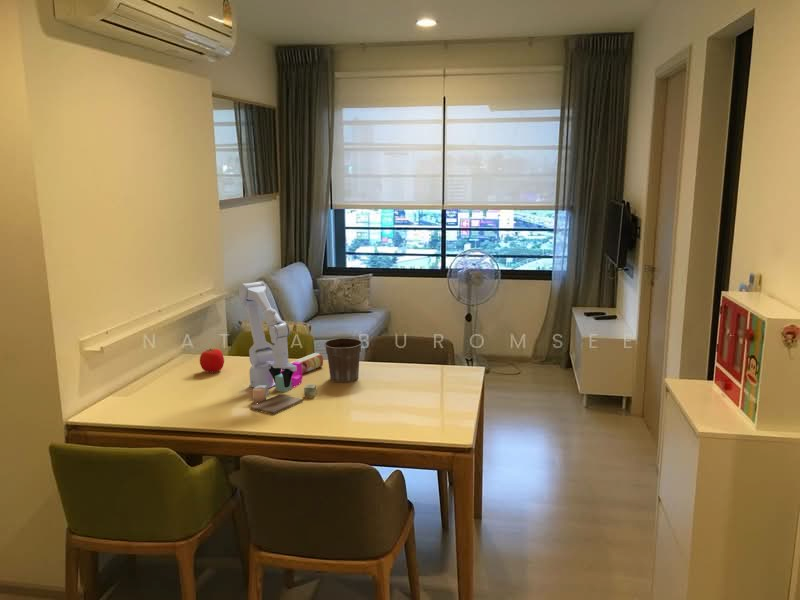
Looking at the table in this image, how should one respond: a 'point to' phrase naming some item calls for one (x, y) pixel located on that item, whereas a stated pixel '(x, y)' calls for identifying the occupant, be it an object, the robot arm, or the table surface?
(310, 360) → the snack package
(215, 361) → the tomato
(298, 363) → the toy block
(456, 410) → the table surface
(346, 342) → the plant pot
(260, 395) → the peach rounded piece
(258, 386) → the grey cube
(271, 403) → the board
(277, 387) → the teal block
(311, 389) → the olive block
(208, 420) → the table surface
